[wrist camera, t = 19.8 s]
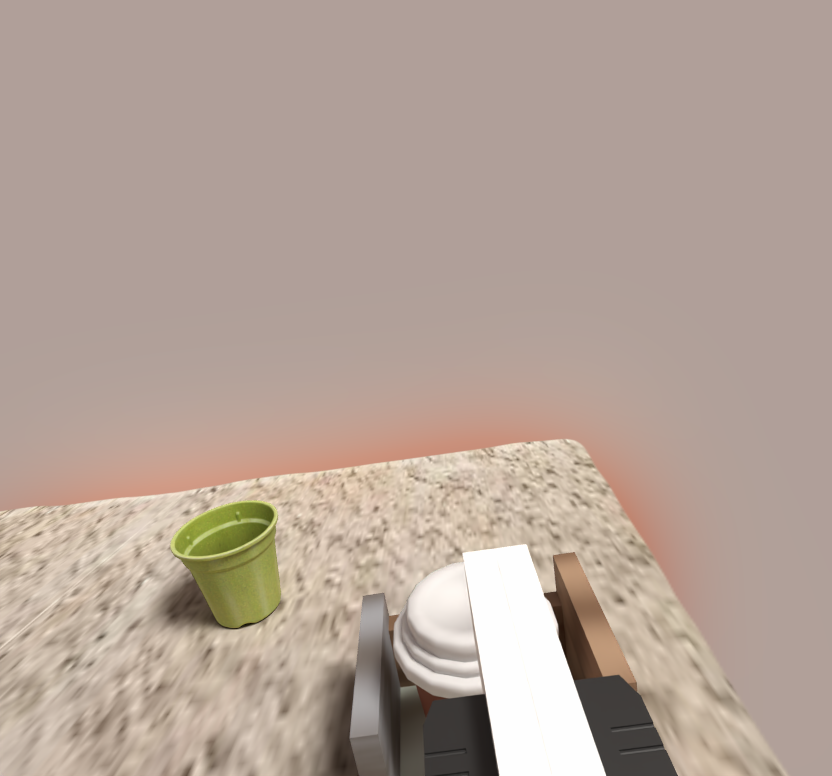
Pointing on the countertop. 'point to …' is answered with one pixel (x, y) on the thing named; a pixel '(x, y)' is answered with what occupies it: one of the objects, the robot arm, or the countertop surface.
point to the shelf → (398, 697)
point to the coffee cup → (440, 637)
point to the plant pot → (233, 560)
